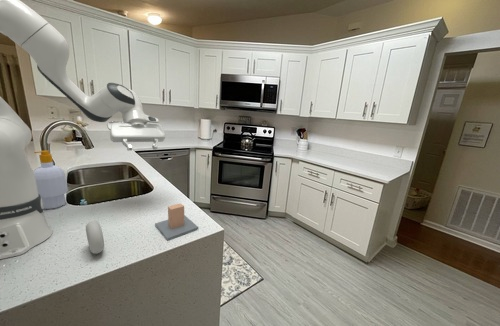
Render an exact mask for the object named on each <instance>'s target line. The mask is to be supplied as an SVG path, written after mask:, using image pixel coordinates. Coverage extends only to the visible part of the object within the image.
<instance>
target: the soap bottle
mask: <svg viewBox="0 0 500 326" xmlns="http://www.w3.org/2000/svg"><path fill="white" fill-rule="evenodd" d="M33 154H39V161H40V167H37V168H36V169H34V170H33V171H34V174H35V179H36V185H37V190H38V194H40V196H41V198H42V203H43V209H46V210H49V209H58V208H60V207H63V206H64V205H65V204H66V203H67V202H66V196H65V194H67V193H68V191H69V188H68V183H67V176H66V172H65V170H64V169H63V168H62V167H60V166H57V165H54V161H53V156H52V154H51V153H50V150H48V149H47V150H41V151H40V150H39V151H38V150H37V151H33ZM62 205H63V206H62Z"/></svg>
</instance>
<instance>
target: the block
mask: <svg viewBox="0 0 500 326" xmlns="http://www.w3.org/2000/svg"><path fill="white" fill-rule="evenodd" d="M184 215H185V206H184V204H182V203H181V202H180V203H176V204H173V205H168V206H167V217H168V218H167V220H168V226H169V227H170V228H171V229H174V228H177V227H180V226H183V225H184Z"/></svg>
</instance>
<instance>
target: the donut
mask: <svg viewBox="0 0 500 326" xmlns="http://www.w3.org/2000/svg"><path fill="white" fill-rule="evenodd" d="M85 234H86V239H87V244H88V248H89V251H90V252H91V253H92V254H94V255H97V254H100V253H102V251H103V250H104V248H105V239H104V234H103V230H102V227H101V224H100V222H99V221H97V220H91V221H89V222H88V223H86V225H85Z"/></svg>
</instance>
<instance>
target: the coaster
mask: <svg viewBox="0 0 500 326" xmlns="http://www.w3.org/2000/svg"><path fill="white" fill-rule="evenodd" d="M154 226H155V228H156V229H157V230H158V232H160V234H161V235H162V236H163V238H164V239H165V240H166V241H167V242H168V241H171V240H174V239H176V238H179V237H182V236H184V235H187V234H191V233H192V232H196V231H198V230H199V226H197V224H196V223H194V222H193V221H192V220H191V219H190V218H189V217H187V216H186V215H185V214H184V225H183V226H180V227H177V228H174V229H171V228H170V227H169V226H168V219H166V220H163V221H159V222H156V223H154ZM197 229H198V230H197Z"/></svg>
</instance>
